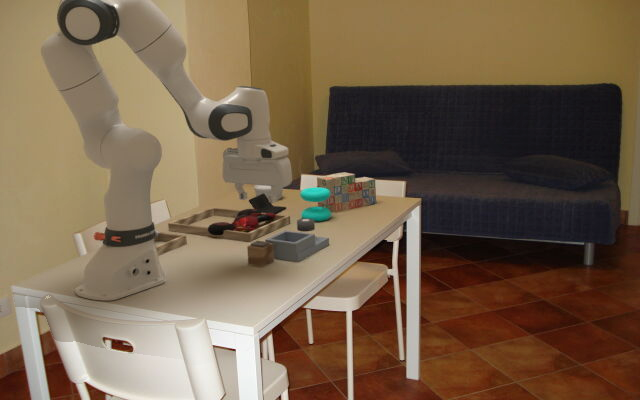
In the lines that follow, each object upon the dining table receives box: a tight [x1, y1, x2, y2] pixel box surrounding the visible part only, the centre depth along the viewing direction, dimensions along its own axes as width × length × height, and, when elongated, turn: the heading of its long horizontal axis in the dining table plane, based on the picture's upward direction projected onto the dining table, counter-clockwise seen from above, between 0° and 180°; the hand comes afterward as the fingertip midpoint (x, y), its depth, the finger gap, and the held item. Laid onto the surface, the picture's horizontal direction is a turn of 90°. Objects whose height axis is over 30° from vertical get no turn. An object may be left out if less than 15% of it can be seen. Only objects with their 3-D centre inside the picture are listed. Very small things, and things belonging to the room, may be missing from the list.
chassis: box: [264, 229, 330, 262], centre depth 185 cm, size 17×11×5 cm, turn 150°
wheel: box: [296, 218, 316, 233], centre depth 189 cm, size 5×5×3 cm
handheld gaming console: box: [248, 193, 287, 215], centre depth 232 cm, size 12×7×10 cm
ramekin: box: [253, 185, 284, 201], centre depth 251 cm, size 11×11×5 cm
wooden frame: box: [154, 231, 188, 256], centre depth 195 cm, size 15×19×2 cm
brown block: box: [246, 240, 275, 268], centre depth 176 cm, size 5×5×6 cm
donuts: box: [300, 186, 332, 223], centre depth 219 cm, size 10×10×10 cm
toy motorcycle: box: [208, 208, 276, 235], centre depth 210 cm, size 25×5×16 cm
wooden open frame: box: [167, 206, 291, 243], centre depth 213 cm, size 23×32×2 cm
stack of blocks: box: [316, 171, 377, 214], centre depth 233 cm, size 21×6×12 cm, turn 124°
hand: (258, 200), depth 173 cm, fingers open, 8 cm apart
